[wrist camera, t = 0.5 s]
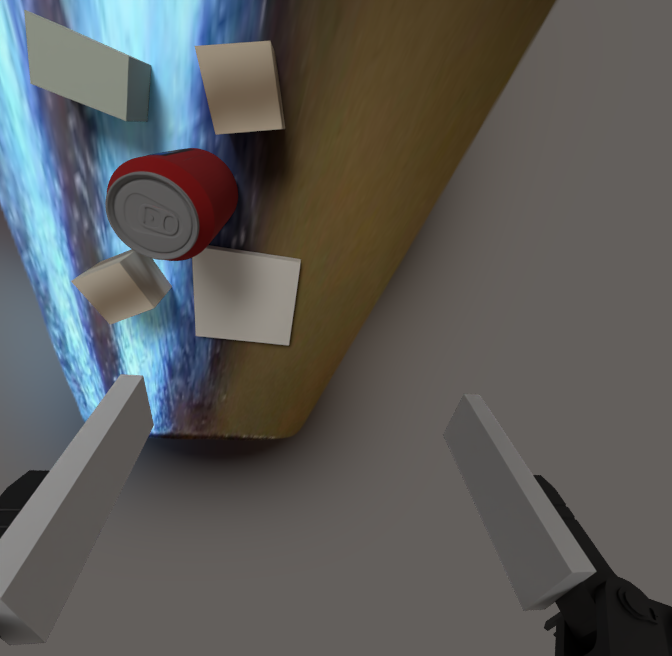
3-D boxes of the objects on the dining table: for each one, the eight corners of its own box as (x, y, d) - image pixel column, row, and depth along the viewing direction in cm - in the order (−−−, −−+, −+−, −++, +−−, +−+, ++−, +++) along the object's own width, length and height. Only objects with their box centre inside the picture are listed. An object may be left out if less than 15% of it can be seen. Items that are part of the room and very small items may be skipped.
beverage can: (170, 133, 27) (93, 137, 17) (247, 166, 29) (219, 187, 19) (160, 209, 30) (90, 249, 20) (231, 234, 32) (199, 282, 22)
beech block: (212, 59, 25) (194, 46, 21) (275, 55, 25) (270, 40, 21) (228, 133, 28) (215, 134, 23) (285, 128, 28) (282, 129, 24)
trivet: (194, 243, 32) (191, 246, 32) (300, 259, 34) (300, 262, 34) (198, 331, 38) (195, 335, 37) (289, 340, 40) (288, 345, 39)
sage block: (64, 26, 23) (24, 9, 20) (151, 65, 25) (128, 56, 22) (66, 89, 25) (30, 83, 22) (148, 121, 27) (126, 121, 23)
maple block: (100, 261, 33) (71, 281, 28) (143, 244, 32) (119, 262, 28) (132, 301, 35) (110, 324, 31) (172, 286, 35) (154, 308, 31)
